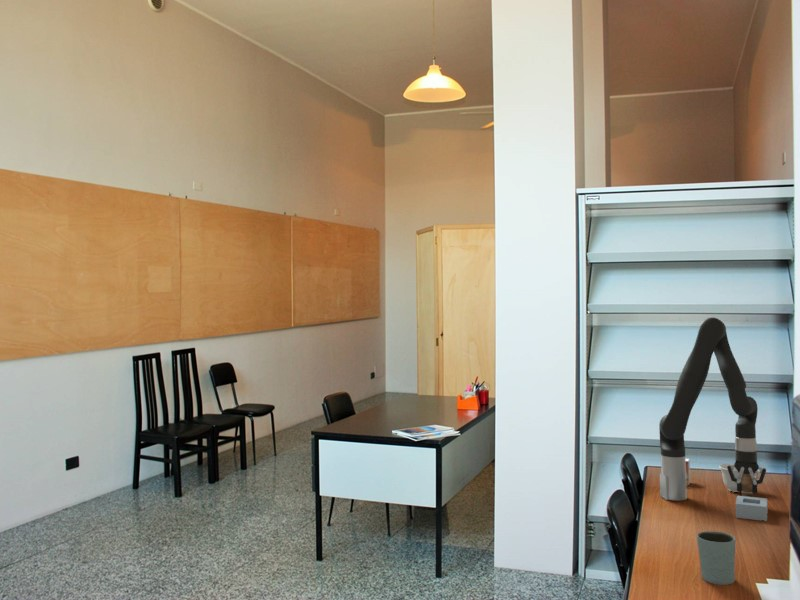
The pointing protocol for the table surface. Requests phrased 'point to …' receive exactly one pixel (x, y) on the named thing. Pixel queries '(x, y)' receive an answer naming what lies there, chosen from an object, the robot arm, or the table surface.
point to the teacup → (727, 478)
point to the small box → (687, 471)
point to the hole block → (751, 508)
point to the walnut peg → (746, 485)
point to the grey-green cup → (717, 557)
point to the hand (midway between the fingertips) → (747, 493)
